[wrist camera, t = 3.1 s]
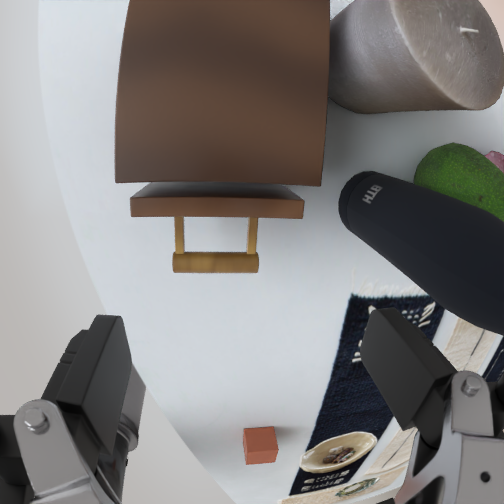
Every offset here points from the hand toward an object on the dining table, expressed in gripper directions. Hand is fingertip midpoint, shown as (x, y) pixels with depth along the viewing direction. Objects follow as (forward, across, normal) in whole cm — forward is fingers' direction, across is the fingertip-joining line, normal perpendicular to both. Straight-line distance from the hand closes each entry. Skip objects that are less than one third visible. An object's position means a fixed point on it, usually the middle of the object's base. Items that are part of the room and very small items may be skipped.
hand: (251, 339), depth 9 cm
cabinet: (+18, +1, -10) cm, 21 cm away
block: (+18, -5, +34) cm, 39 cm away
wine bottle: (+18, -14, -1) cm, 22 cm away
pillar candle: (+18, -11, -14) cm, 25 cm away
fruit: (+18, -21, -4) cm, 28 cm away
